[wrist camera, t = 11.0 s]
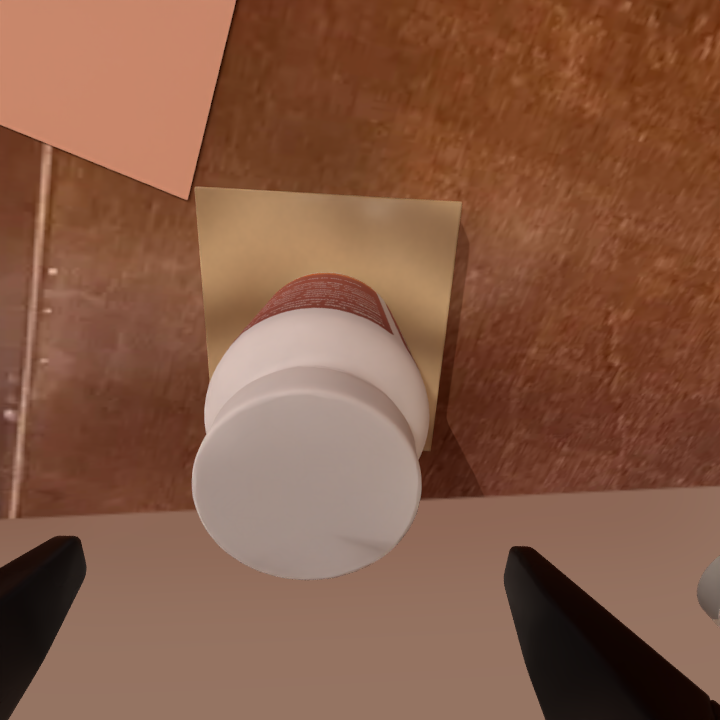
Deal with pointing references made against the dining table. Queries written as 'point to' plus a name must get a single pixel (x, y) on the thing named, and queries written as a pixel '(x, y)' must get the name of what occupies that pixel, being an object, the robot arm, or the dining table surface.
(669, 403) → the dining table surface
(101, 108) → the pink tile
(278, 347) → the pill bottle
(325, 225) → the cutting board
